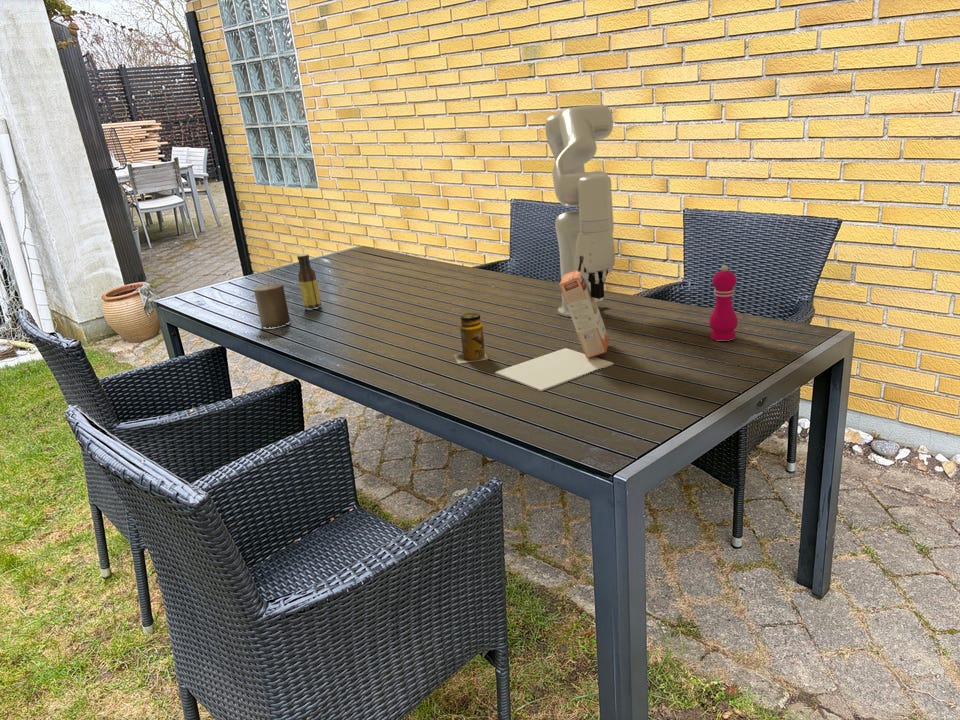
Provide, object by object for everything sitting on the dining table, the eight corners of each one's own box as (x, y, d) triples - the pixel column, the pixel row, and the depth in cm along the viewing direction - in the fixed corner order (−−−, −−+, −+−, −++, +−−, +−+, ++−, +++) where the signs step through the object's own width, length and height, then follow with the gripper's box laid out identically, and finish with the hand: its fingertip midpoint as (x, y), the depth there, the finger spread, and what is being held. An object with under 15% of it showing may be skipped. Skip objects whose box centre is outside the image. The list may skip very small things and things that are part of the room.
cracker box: (608, 352, 186) (579, 276, 182) (586, 359, 188) (557, 284, 184) (610, 337, 199) (584, 266, 195) (589, 344, 201) (562, 274, 197)
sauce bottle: (317, 305, 270) (308, 252, 264) (325, 307, 266) (316, 253, 259) (301, 309, 267) (291, 255, 260) (309, 312, 262) (299, 257, 255)
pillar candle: (296, 323, 249) (288, 280, 244) (271, 331, 242) (262, 287, 237) (280, 320, 255) (272, 278, 251) (255, 327, 249) (247, 284, 244)
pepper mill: (738, 335, 198) (741, 262, 191) (735, 343, 192) (737, 268, 185) (711, 333, 201) (712, 261, 194) (706, 342, 195) (708, 268, 188)
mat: (565, 349, 199) (565, 348, 199) (613, 364, 185) (613, 362, 185) (495, 373, 186) (495, 372, 186) (541, 391, 172) (541, 389, 172)
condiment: (489, 359, 197) (485, 316, 193) (458, 364, 195) (453, 321, 191) (483, 351, 204) (479, 310, 200) (453, 356, 202) (448, 314, 198)
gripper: (605, 220, 190) (607, 289, 196) (562, 230, 182) (566, 301, 188) (627, 222, 184) (628, 293, 190) (583, 232, 176) (586, 306, 182)
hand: (597, 297), depth 189 cm, fingers closed
